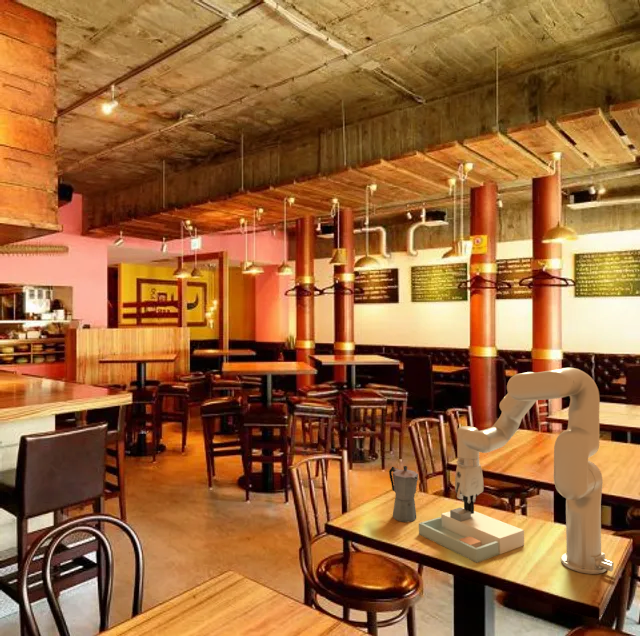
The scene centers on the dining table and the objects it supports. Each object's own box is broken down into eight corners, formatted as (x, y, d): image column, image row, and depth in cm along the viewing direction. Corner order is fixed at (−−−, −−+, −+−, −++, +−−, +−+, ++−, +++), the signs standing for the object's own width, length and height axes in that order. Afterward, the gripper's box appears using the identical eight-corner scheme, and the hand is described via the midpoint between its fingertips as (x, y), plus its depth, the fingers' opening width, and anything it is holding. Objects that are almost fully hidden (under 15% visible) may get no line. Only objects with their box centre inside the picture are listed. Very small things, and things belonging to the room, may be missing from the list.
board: (524, 545, 176) (524, 530, 176) (500, 554, 170) (499, 538, 170) (464, 520, 198) (464, 507, 198) (441, 527, 192) (441, 513, 192)
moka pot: (410, 526, 193) (409, 472, 193) (380, 515, 205) (379, 463, 205) (427, 520, 199) (426, 467, 199) (396, 509, 211) (396, 459, 211)
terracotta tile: (470, 544, 170) (470, 552, 170) (481, 541, 172) (481, 549, 172) (458, 539, 174) (458, 547, 174) (469, 536, 177) (469, 543, 177)
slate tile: (470, 518, 186) (470, 511, 186) (460, 521, 184) (460, 514, 184) (460, 514, 191) (460, 507, 191) (450, 517, 188) (450, 510, 188)
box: (499, 554, 169) (499, 541, 169) (476, 562, 164) (476, 549, 164) (440, 527, 192) (440, 516, 192) (418, 534, 186) (418, 523, 186)
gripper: (461, 467, 182) (461, 520, 182) (491, 460, 190) (491, 511, 190) (445, 462, 189) (446, 513, 189) (474, 456, 197) (475, 505, 197)
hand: (469, 512), depth 190 cm, fingers closed
